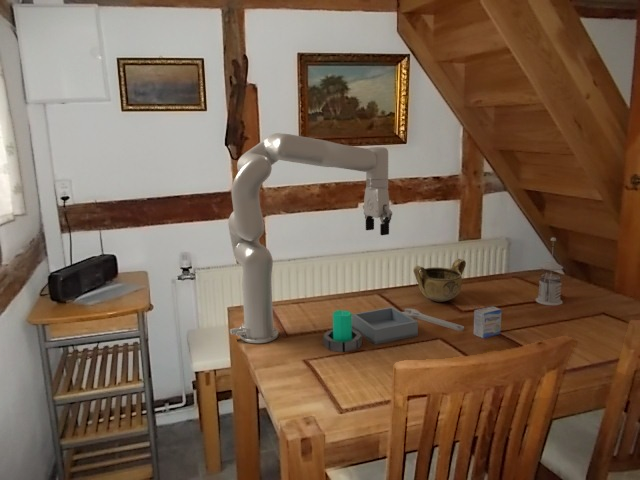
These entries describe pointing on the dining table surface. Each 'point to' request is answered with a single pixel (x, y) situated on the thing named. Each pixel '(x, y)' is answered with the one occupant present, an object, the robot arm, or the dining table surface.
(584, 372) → the dining table surface
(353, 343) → the collar
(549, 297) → the french press
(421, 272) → the ceramic bowl
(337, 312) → the candle
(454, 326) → the adjustable wrench
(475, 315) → the medicine box
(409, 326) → the bin
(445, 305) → the dining table surface
